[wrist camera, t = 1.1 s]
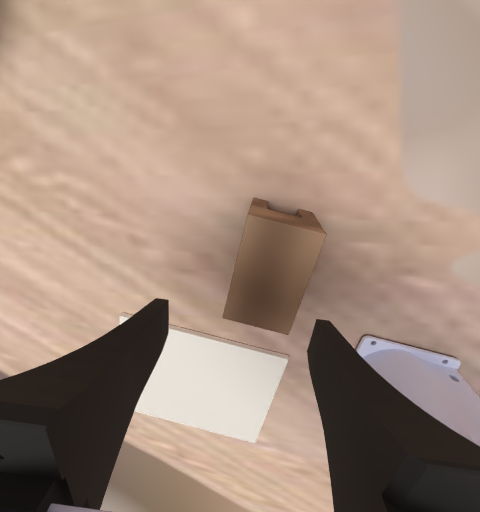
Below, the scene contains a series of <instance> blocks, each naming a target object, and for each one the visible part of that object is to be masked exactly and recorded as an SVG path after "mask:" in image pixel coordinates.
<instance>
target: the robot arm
mask: <svg viewBox="0 0 480 512" xmlns="http://www.w3.org/2000/svg"><path fill="white" fill-rule="evenodd" d="M168 333H169V311H168V300H165V299H157V298H156V299H154V300H153V301H152V302H150V303H149V304H148V305H146V306H145V307H144V308H142V309H141V310H140V311H138V312H137V313H136V314H134V315H133V316H132V317H130V318H129V319H128V320H126V321H125V322H123V323H122V324H120V325H119V326H117V327H116V328H114V329H113V330H111V331H110V332H108V333H107V334H105V335H103V336H102V337H100V338H98V339H97V340H95V341H93V342H91V343H89V344H87V345H86V346H84V347H82V348H80V349H78V350H75V351H73V352H71V353H69V354H67V355H65V356H63V357H61V358H58V359H56V360H54V361H51V362H49V363H47V364H44V365H42V366H39V367H36V368H34V369H31V370H28V371H26V372H23V373H20V374H17V375H14V376H11V377H8V378H5V379H2V380H0V512H110V511H103V510H100V507H101V505H102V501H103V498H104V495H105V492H106V489H107V486H108V483H109V480H110V477H111V474H112V471H113V468H114V465H115V462H116V460H117V456H118V454H119V451H120V448H121V445H122V442H123V440H124V437H125V434H126V432H127V429H128V426H129V423H130V421H131V418H132V416H133V413H134V410H135V408H136V405H137V403H138V401H139V398H140V396H141V394H142V392H143V390H144V388H145V386H146V384H147V382H148V380H149V378H150V376H151V374H152V372H153V370H154V368H155V366H156V364H157V361H158V359H159V357H160V355H161V353H162V351H163V348H164V345H165V342H166V339H167V336H168ZM372 341H375V342H373V343H371V342H372ZM307 353H308V363H309V370H310V375H311V379H312V383H313V388H314V392H315V396H316V399H317V403H318V407H319V411H320V415H321V420H322V424H323V429H324V436H325V442H326V449H327V456H328V463H329V471H330V478H331V487H332V496H333V505H334V512H480V397H479V396H478V395H477V394H476V393H475V391H474V390H473V389H472V388H471V387H470V385H469V384H468V383H467V382H466V381H465V380H464V378H463V377H462V376H461V375H460V374H459V372H458V371H457V369H458V368H459V366H460V365H461V362H460V361H459V360H458V359H457V358H454V357H450V356H446V355H442V354H438V353H435V352H431V351H427V350H423V349H419V348H415V347H411V346H407V345H404V344H400V343H396V342H392V341H388V340H384V339H380V338H376V337H373V336H368V335H367V336H364V337H363V338H362V340H361V341H360V343H359V345H358V347H357V349H356V350H355V349H354V348H353V347H352V346H351V345H350V344H349V343H348V341H347V340H346V339H345V338H344V337H343V336H342V335H341V333H340V332H339V331H338V330H337V329H336V328H335V327H334V325H333V324H332V323H331V322H330V321H327V320H319V319H316V323H315V326H314V330H313V333H312V337H311V340H310V344H309V347H308V350H307ZM443 360H444V361H443Z"/></svg>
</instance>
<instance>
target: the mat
mask: <svg viewBox="0 0 480 512" xmlns="http://www.w3.org/2000/svg"><path fill="white" fill-rule="evenodd" d="M132 316H133V315H131V314H127V313H122V314H121V315H120V323H119V325H120V324H122V323H123V322H125V321H126V320H128V319H129V318H130V317H132ZM288 360H289V359H288V355H285V354H281V353H277V352H273V351H269V350H265V349H262V348H258V347H254V346H250V345H246V344H242V343H239V342H235V341H231V340H227V339H223V338H219V337H215V336H212V335H208V334H204V333H200V332H196V331H192V330H189V329H185V328H181V327H177V326H173V325H169V333H168V336H167V339H166V342H165V345H164V348H163V351H162V353H161V355H160V357H159V359H158V361H157V364H156V366H155V368H154V370H153V372H152V374H151V376H150V378H149V380H148V382H147V384H146V386H145V388H144V390H143V392H142V394H141V396H140V398H139V401H138V403H137V405H136V408H135V410H134V411H135V412H139V413H143V414H146V415H150V416H154V417H158V418H161V419H165V420H169V421H173V422H177V423H180V424H184V425H188V426H192V427H195V428H199V429H203V430H207V431H211V432H214V433H218V434H222V435H226V436H229V437H233V438H237V439H241V440H245V441H248V442H252V443H255V442H256V440H257V437H258V435H259V432H260V430H261V427H262V425H263V422H264V420H265V417H266V415H267V412H268V410H269V407H270V405H271V402H272V400H273V397H274V395H275V392H276V390H277V387H278V385H279V382H280V380H281V377H282V375H283V372H284V370H285V367H286V365H287V362H288Z"/></svg>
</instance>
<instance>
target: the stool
mask: <svg viewBox="0 0 480 512" xmlns="http://www.w3.org/2000/svg"><path fill="white" fill-rule="evenodd" d="M267 206H268V201H265V200H261V199H257V198H253V201H252V204H251V207H250V210H249V213H248V216H247V220H246V224H245V228H244V232H243V236H242V240H241V245H240V249H239V253H238V257H237V261H236V265H235V269H234V273H233V277H232V281H231V285H230V289H229V293H228V297H227V301H226V305H225V310H224V314H223V318H224V319H228V320H232V321H236V322H240V323H244V324H248V325H252V326H255V327H259V328H263V329H267V330H271V331H275V332H279V333H282V334H286V335H288V334H289V332H290V329H291V326H292V324H293V321H294V319H295V316H296V313H297V311H298V308H299V305H300V303H301V300H302V298H303V295H304V292H305V290H306V287H307V284H308V282H309V279H310V277H311V274H312V271H313V269H314V266H315V263H316V261H317V258H318V256H319V253H320V250H321V248H322V245H323V242H324V240H325V237H326V235H327V234H326V233H325V231H324V230H323V228H322V227H321V225H320V223H319V222H318V220H317V219H316V217H315V216H314V214H313V213H312V212H308V211H304V210H300V209H298V211H297V215H296V216H293V215H289V214H285V213H281V212H277V211H273V210H270V209H267Z"/></svg>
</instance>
